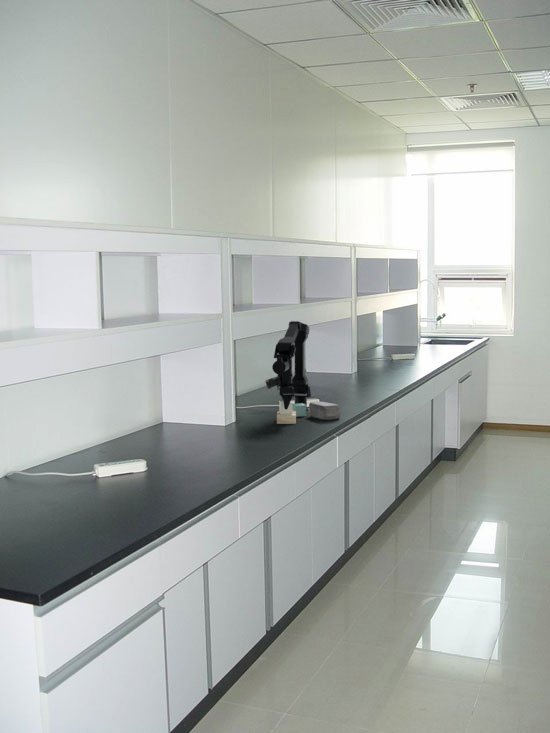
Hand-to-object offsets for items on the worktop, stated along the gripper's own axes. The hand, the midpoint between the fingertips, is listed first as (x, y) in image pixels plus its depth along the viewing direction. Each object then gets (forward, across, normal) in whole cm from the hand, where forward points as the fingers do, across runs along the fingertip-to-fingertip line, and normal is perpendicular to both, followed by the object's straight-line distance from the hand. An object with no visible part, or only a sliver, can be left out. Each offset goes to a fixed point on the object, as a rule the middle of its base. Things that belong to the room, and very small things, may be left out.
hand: (285, 407), depth 345 cm
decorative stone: (+7, -6, +17) cm, 20 cm away
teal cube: (+6, -13, +7) cm, 16 cm away
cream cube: (+2, 0, 0) cm, 3 cm away
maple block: (+7, +1, 0) cm, 7 cm away
